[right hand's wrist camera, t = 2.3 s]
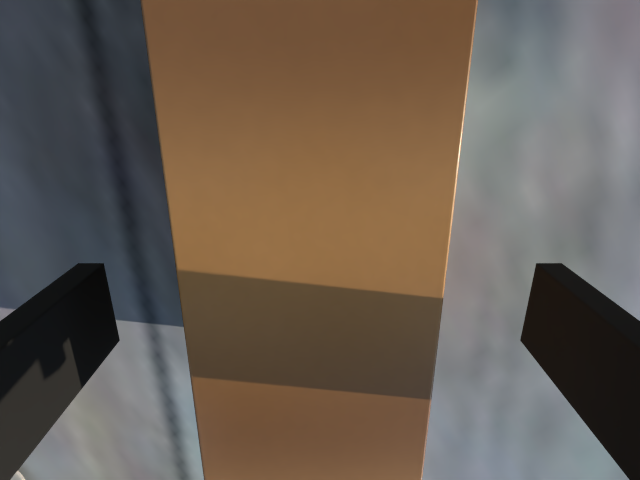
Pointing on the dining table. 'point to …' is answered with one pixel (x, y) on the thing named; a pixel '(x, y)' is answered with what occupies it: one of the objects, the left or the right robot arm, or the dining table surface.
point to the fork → (18, 476)
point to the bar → (310, 222)
